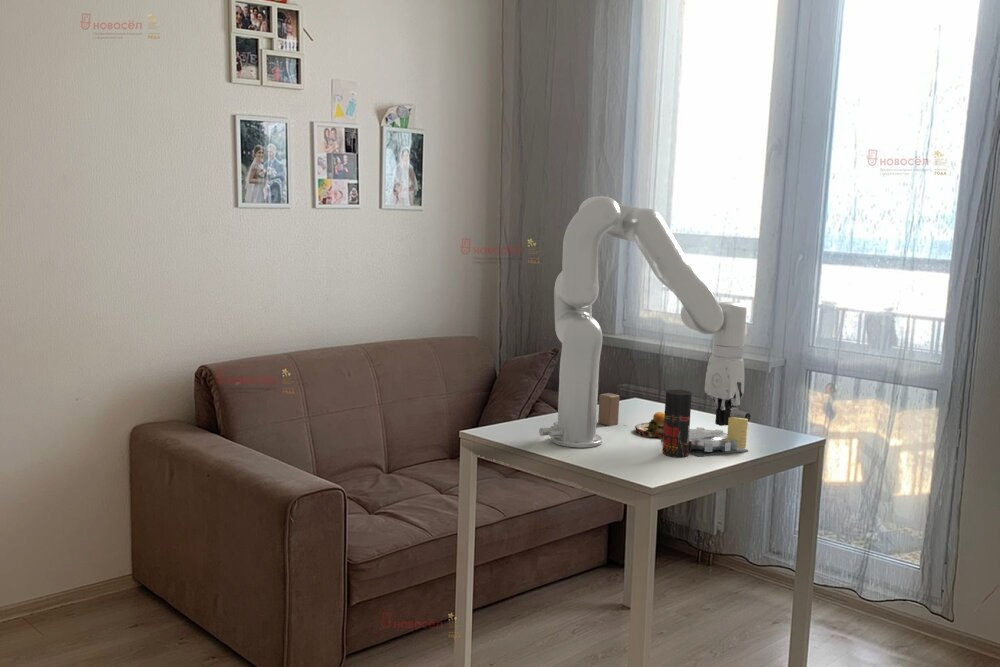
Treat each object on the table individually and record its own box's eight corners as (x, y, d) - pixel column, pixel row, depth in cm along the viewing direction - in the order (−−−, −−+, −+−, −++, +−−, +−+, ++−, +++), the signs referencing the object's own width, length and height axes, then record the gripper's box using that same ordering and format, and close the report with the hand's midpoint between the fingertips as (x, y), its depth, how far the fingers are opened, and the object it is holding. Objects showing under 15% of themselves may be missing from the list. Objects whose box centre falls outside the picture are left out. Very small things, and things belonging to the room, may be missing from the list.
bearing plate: (695, 457, 216) (695, 454, 216) (657, 441, 229) (658, 439, 229) (748, 451, 223) (748, 449, 223) (709, 436, 236) (709, 434, 236)
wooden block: (618, 424, 247) (620, 395, 246) (608, 426, 244) (610, 396, 243) (607, 421, 250) (609, 392, 249) (597, 423, 247) (598, 394, 246)
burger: (674, 429, 245) (676, 401, 244) (686, 440, 233) (688, 411, 232) (630, 428, 244) (631, 400, 243) (640, 439, 232) (641, 410, 231)
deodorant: (660, 450, 221) (664, 389, 219) (685, 451, 221) (689, 390, 219) (664, 457, 215) (667, 394, 213) (689, 458, 215) (693, 395, 213)
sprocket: (664, 446, 222) (666, 416, 221) (678, 432, 236) (680, 404, 235) (740, 456, 215) (742, 426, 214) (750, 441, 230) (752, 413, 229)
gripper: (696, 348, 233) (691, 419, 235) (735, 357, 219) (729, 432, 222) (720, 347, 236) (715, 417, 238) (760, 356, 223) (754, 430, 225)
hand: (722, 424), depth 230 cm, fingers closed
